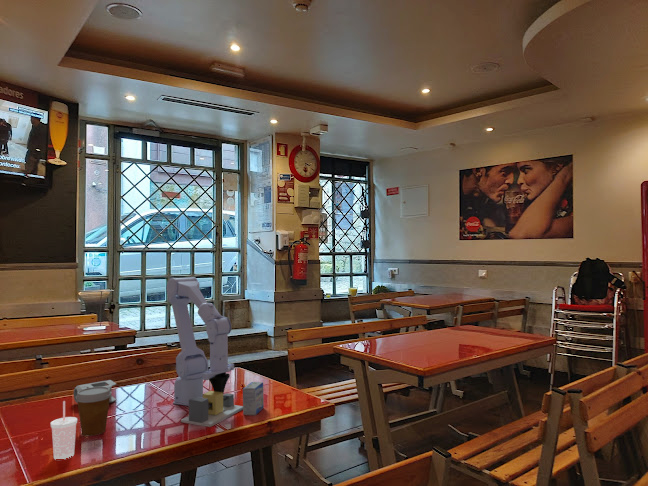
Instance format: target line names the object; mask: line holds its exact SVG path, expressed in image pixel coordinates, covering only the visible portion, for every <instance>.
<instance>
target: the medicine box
mask: <svg viewBox="0 0 648 486" xmlns="http://www.w3.org/2000/svg"><path fill="white" fill-rule="evenodd" d="M264 405H265V404H264V382H262V381H261V382H260V381H251V382H249V383H248V384H247V385H245V386H244V387H243V388H242V406H243V409H242V414H243V416H244V415H245V416H257V415H258V413H260V412H261V411H262V410H263V409H264V407H265V406H264Z"/></svg>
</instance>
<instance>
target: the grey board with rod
mask: <svg viewBox="0 0 648 486" xmlns="http://www.w3.org/2000/svg"><path fill="white" fill-rule="evenodd" d="M234 396H235V395H234V393H224V394H223V412H221V413H219V414H217V415H212V414H208V409H209V408H211V407H212V403H210V404H208V399H206V398H199V397H194V398H192V399H189V406H188V416H186V417H184V418H181V419H180V421H181V423H184V424H189V425H196V426H201V427H207V428H212V427H213V426H215V425H216V424H218V423H219V424H220V423H221V422H222V421H224V420H226V419H228V418H229V417H232V416H233V415H235V414H237V413H238V412H241V411H243V405H238V404H237V405H236V404H235V400H234V399H235V397H234Z"/></svg>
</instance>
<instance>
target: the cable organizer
mask: <svg viewBox="0 0 648 486" xmlns="http://www.w3.org/2000/svg"><path fill="white" fill-rule="evenodd" d="M116 385H117V383H116V382H115V381H113V380H111V379H108V380H102V381H96V382H90V383H85V384H80V385H76V387H74V390H73V399H74V402H75V403H76V404H78V402H77V400H76V396H77V393H78V391H80V390H83V389H86V388H91V387H108V388H110V392H112V393H113V391H112V388H113V387H114V386H116ZM115 401H117V398H115V397H114V396H113V395H112V394H111V396H110V400H109V404H110V403H114V402H115Z"/></svg>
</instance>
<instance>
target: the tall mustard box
mask: <svg viewBox="0 0 648 486" xmlns="http://www.w3.org/2000/svg"><path fill="white" fill-rule="evenodd" d="M223 395H224V394H223V392H216V391H214V390H209V391H206V392H203V398H206V399H208V404H210V403H212V407H211V408H209V409H208V414H212V415H217V414H219V413H221V412H223Z"/></svg>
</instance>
